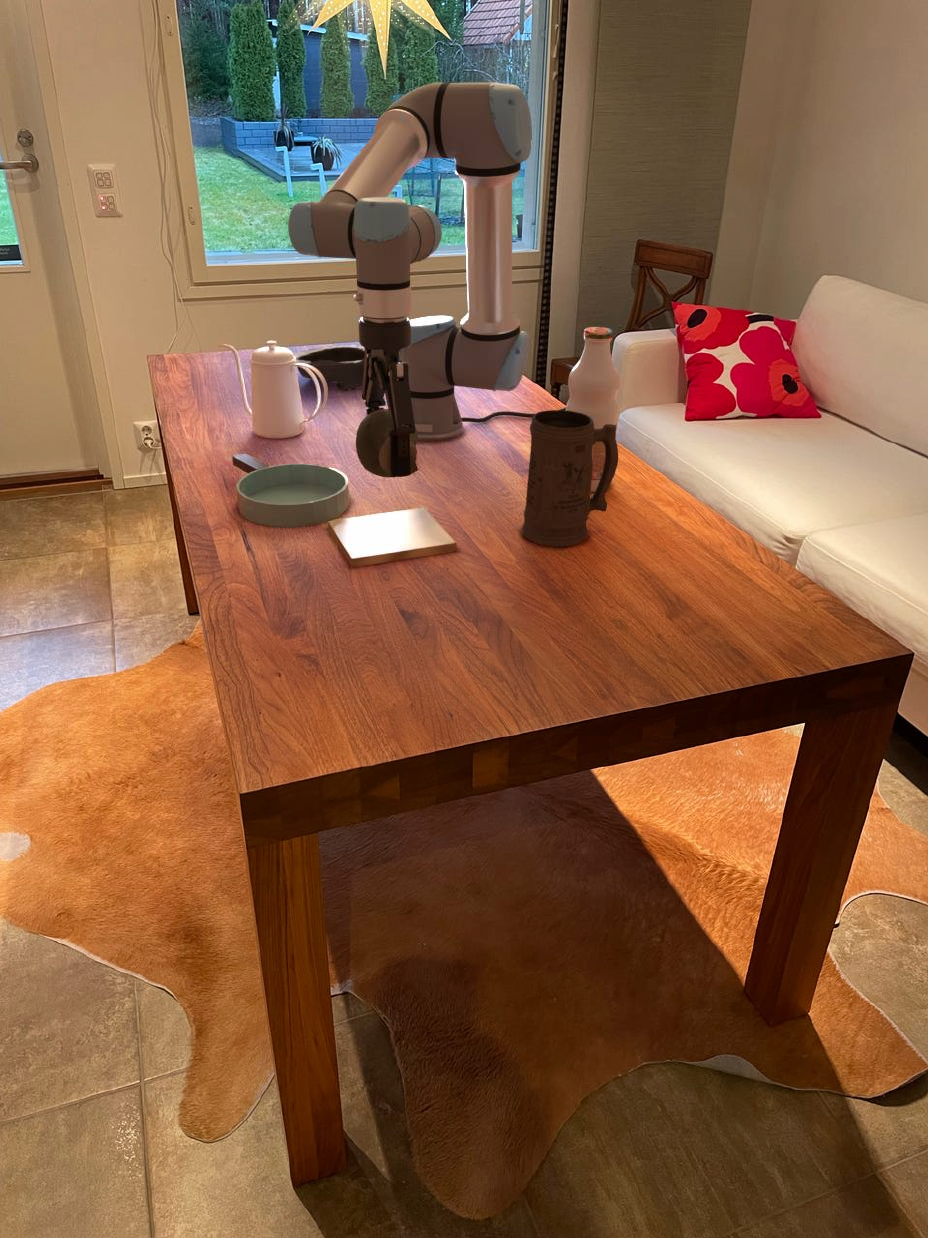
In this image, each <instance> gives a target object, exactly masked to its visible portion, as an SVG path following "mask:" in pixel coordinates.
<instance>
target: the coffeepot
mask: <svg viewBox="0 0 928 1238" xmlns="http://www.w3.org/2000/svg"><path fill="white" fill-rule="evenodd" d="M277 344H278V342H277V340H268V341H267V340H266V342H265V345H266V346H264V347H260V348H257V349H255V350H254V351H253V352H252V353H251V357H250V358H249V360H248V361H249V364H250V388H251V394H250V395H251V408H250V406H249V402H248V398H247V392H246V387H245V381H244V374H243V370H242V369H243V368H242V364H241V358H240V355H239V353H238V350H236V348H234V346H232V345H230V344H226V343H222V344H220V345H218V346H217V347H218V348H222V349H227V350H229V351H230V352H231V353H232V354H233V356H234V358H235V363H236V368H237V370H236V371H237V374H238V375H237V376H238V381H239V387H240V392H241V399H242V403H243V407H244V410H245V411H246V413H247V414H248V415H250V416H251V427H252V431H253V433H254V434H255V435H257V436H259V437H262V438H266V439H275V440H277V439H288V438H293V437H296V436H298V435H300V434H301V433H302V432H303V431H304V430H305V427H306V423H307V422H309V421H311V420H313V419H315V418H316V417H317V416H318V415H320V413H321V412H322V411H323V410H324V408H325V407H326V403H327V400H328V397H329V396H328V394H329V390H328V384H327V381H326V380H325V379H324V377H323V375H322V374H321V373H320V372H319V370H317V369H316V368H315V367H313V366H310V365H308V364H303V363H297V364H296V357H295V356H293V353H294V352H292V351H291V350H290V349H289V348H286V347H282V346H277ZM297 366H298V367H301V368H302V369H304V370H305V371H306V372H308V374H309V375H310V376H311V377H312V379H311V380H312V382H314V386H315V389H316V404H315V407H314V410H313V411H312V413H311V415H310V416H309V417H308V418H306V419H305V416H304V409H303V404H302V403H303V402H302V396H301V390H300V385H299V383H300V382H299V377H298V371H297V370H298V369H297ZM310 369H311V370H313V371H314V372H315V373H316V374H317V375H318V376H319V378H320V379H321V380H320V382H321V384H322V386H323V400H322V394H321V387H320V382H319V380H317V378H316V376H315V375H314V373H313V372H312V371H311V370H310ZM321 400H322V403H321ZM320 405H321V406H320Z"/></svg>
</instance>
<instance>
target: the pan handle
mask: <svg viewBox="0 0 928 1238" xmlns="http://www.w3.org/2000/svg"><path fill="white" fill-rule="evenodd" d="M231 458H232V466H234V467H236V468H237V469H239V470H241V471H243V472H245V473H246V474H248V473H250V472H253V471H256V470H258V469H261V468H265V467H270V465H268V464H266V463H264V462H262V461H260V460H258V459H257V458H254V457H253V456H251V455H249V454H247V453H240V454H235V455H232V456H231Z"/></svg>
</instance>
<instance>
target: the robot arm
mask: <svg viewBox="0 0 928 1238" xmlns="http://www.w3.org/2000/svg"><path fill="white" fill-rule="evenodd" d="M532 140H533V125H532V117H531V109H530V106H529V102H528V99H527V97H526V94H525V93H524V91H523V90H522V89H521V88H520V87H519V86H517V85H515V84H509V83H500V82H495V81H494V82H493V81H492V82H446V81H445V82H440V81H439V82H433V83H428V84H425V85H422V86H419V87H417V88H415V89H413V90H411V91H409V92H408V93H406V94H404V95H402V96H401V97H400V98H398V99H397V100H395V101H394V102H393V103H392V104H390V105H389V107H388V108H386V109H385V110H384V111H383V113H382V114H381V115H380V116H379V118H378V119H377V120H376V122H375V125H374V130H373V135H372V136H371V137H370V139H368V141H367V143H365V145H364V146H363V147H362V148H361V149H360V151H359V152H358V153H357V155H355V157H354V158H353V159H352V160H351V162H350V163H349V164H348V165H347V167H346V168H345V169H344V170H343V172H341V174H340V175H339V176H338V178H336V180H335V181H334V182H333V183H332V185H331V186H330V187H329V188H328V190H327V191H326V192H325V194H324V195H323V196H322V197H321V198H320V200H319V201H312V200H308V201H299V202H296V203H295V204H294V205H293V206H292V208H291V210H290V211H289V215H288V222H287V230H288V236H289V241H290V243H291V246H292V247H293V250H295V251H296V252H297V254H300V255H303V256H310V257H317V258H318V259H320V258H330V259H332V258H333V259H347V260H348V259H350V260H355V266H356V287H357V289H356V291H357V293H356V294H354V295H353V300H354V301H355V302H357V313H358V315H360V316H361V317H360V318H359V319H358V321H357V322H358V323H357V327H358V342H359V343H358V344H359V345H361V346H363V347H364V349H365V362H364V374H363V386H362V387H361V399H362V401H364V406H365V408H366V416H367V415H369V414H370V412H371V409H372V408H374V410H375V411H377V410H381V409H385V408H384V407H387V409H388V411H389V416H390V421H391V425H392V430H393V431H389V433H388V435H389V436H390V438H391V476H392V477H391V478H402V477H401V476H406V477H408V476H409V477H410V476H411V475H410V434H414V433H415V426H416V428H417V432H418V438H417V443H418V442H419V443H436V442H445V441H449V440H452V439H455V438H458V437H459V436H461V435H462V433H463V431H464V430H463V425H464V424H463V423H476V424H477V423H479V424H480V423H485V422H487V421H489V420H492V419H493V418H496V417H502V416H511V417H518V418H525V419H526V418H529V419H532V417H533V415H534V414H536V413H537V412H536V413H528V412H519V411H511V410H510V411H509V410H500V411H495V412H492V413H489V414H488V415H486V416H483V417H479V418H477V417H464V416H463V417H462V416H461V412H460V409H459V406H458V403H457V400H456V397H455V387H460V388H461V387H462V388H470V389H479V390H486V391H487V390H489V391H493V392H497V391H501V392H512V391H514V390H515V389H516V388H517V387H518V386H519V385H520V383H521V381H522V379H523V376H524V374H525V370H526V366H527V363H528V357H529V353H530V343H531V341H530V335H529V333H528V332H526V331H525V330H522V331H521V320H520V319H519V317H518V316H517V315H516V314H515V313H514V312H513V181H514V179H516V177H517V176H518V174H519V173H520V172H521V170H522V168H521V167H522V163H524V162H526V161H527V160H528V159H529V157H530V155H531V151H532ZM426 159H427V160H428V159H446V160H454V173H455V174H456V175H457V177H459V178H460V180H461V181H463V188H464V219H465V220H464V221H465V252H466V254H465V255H466V284H467V285H466V287H467V314H466V315H465V316H464V317H463V318H462V319H461V321H460V326H457V321H456V319H455V317H453V316H449V315H431V316H425V317H418V318H413V319H410V318H409V316H410V315H411V314H412V285H411V265H412V264H414V263H420V262H422V261H425V259H428V257H430V256H431V255H432V254H433V253H435V252H436V251H437V249H439V246H440V243H441V240H442V234H443V231H442V225H441V221H440V220H439V217H438V215H437V214H436V213H435V212H434V211H433V210H432V209H431V208H429V207H427V206H425V205H421V204H415V205H414V204H408V202H407V201H406V200H405V199H403V198H400V197H392V196H391V197H389V195H390V194H391V192H392V191H393V190H394V188H395V187H396V186H397V185H398V183H399V182H400V180H401V179H402V178H403V177H404V175H405V174H406V173H407V171H408V170H409V169H412V168H414V167H416V166H417V165H419V164H420V163H421V162H422V161H424V160H426ZM559 410H563V411H566V406H564V407H563V408H559ZM402 425H405V426H402Z"/></svg>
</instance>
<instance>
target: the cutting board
mask: <svg viewBox="0 0 928 1238" xmlns="http://www.w3.org/2000/svg"><path fill="white" fill-rule="evenodd" d="M327 529H328V532H329V533H330V534H331V536H332V537H333V540H334V541H335V542H336V544H337V546H338V547H339V550H341V552H342V553H343V555H344V557H345V559H346V560H347V562H348V563H349V565H350V566H351V568H357V567H364V566H371V565H376V564H382V563H388V562H389V563H390V562H394V561H395V562H396V561H402V560H403V561H404V560H408V559H415V558H421V557H428V556H432V555H440V554H447V553H453V552H457V542H456V541H455V540H454V539H453V537H452V536H451V534H449V533H448V532H447V530H445V528H444V527H443V526H442V525H441V524H440V523H439V521H437V519H436V518H435V517H434V516H433V515H432V514H431V512H430V511H429V510H428V509H427V508H426V507H418V508H411V509H403V510H396V511H389V512H382V513H374V514H367V515H359V516H353V517H346V518H339V519H331V520H328V521H327Z"/></svg>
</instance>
